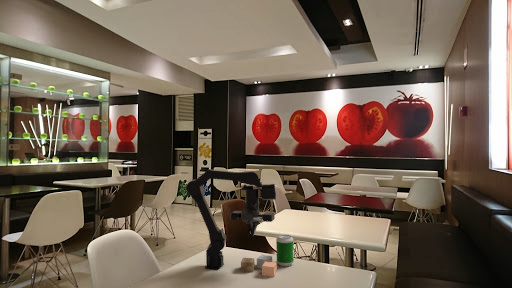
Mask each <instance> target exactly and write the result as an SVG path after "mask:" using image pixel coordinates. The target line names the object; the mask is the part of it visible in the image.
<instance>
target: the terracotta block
mask: <svg viewBox="0 0 512 288" xmlns="http://www.w3.org/2000/svg"><path fill="white" fill-rule="evenodd" d="M277 273H278V263H277V261H276V262H275V261H272V262H266V261H265V262H264V264H263V265H262V268H261V276H263V277H271V278H275V276H276V275H277Z"/></svg>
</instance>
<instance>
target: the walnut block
mask: <svg viewBox="0 0 512 288" xmlns="http://www.w3.org/2000/svg"><path fill="white" fill-rule="evenodd" d="M254 270H255V257H243V258H242V259H241V261H240V272H244V273H246V272H248V273H250V272H251V273H253V272H254Z"/></svg>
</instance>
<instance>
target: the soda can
mask: <svg viewBox="0 0 512 288" xmlns="http://www.w3.org/2000/svg"><path fill="white" fill-rule="evenodd" d="M294 251H295V250H294V237H292V235H290V234H280V235H278V236H277V237H276V263H277V265H279V266H281V267H290V266H292V265H293V264H294V262H295V259H294V258H295V255H294V253H295V252H294Z"/></svg>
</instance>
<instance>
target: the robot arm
mask: <svg viewBox="0 0 512 288" xmlns="http://www.w3.org/2000/svg"><path fill="white" fill-rule="evenodd" d="M210 180H221V181H222V180H223V181H234V182H239V183H242V184H243V186H242V187H241V188H240V190H241V191H244V192H245V203H244V208H243V209H242V210H234V211H232V212H231V213H230V215H229V218H230V220H234V221H237V220H238V219H239V218H240V219H241V221H242V222H243V223H245V224H246V226H247V228H248V230H249V233H250V236H251V237H254V236H255V233H256V231H257V228H258V225H259V224H260V223H261V221H263V222H266V223H271V222H274V220H275V219H276V218H275V217H276V216H275V213H274V212H267V211H266V212H264V213H260V208H259V207H260V201H259V200H260V199H259V197H260V198H261V199H262V200H263V201H265V200H266V201H268V200H269V201H272V200H273V201H275V200H276V199H277V198H276V197H277V196H276V195H277V193H276V184H275V183H270V184H268V183H267V184H266V183H265V184H263V183H262V181H261V180H260V179H259V175H258V173H257V172H256V171H254V170H246V171H245V170H244V171H228V170H219V169H218V170H216V169H212V168H209V169H206V170H205V172H204V173H203V174H201V175H199V176H198V177H197V178H195V179H193V180H190V181H189V182H188V183H187V184H186V187H185V189H186V191H187V193H188V194H189V196H190V197H191V198H192V199H193V200H194V202H195V204H196V205H197V208H198V210H199V213H200V215H201V217H202V219H203V222H204V224H205V226H206V229H207V231H208V237H209V241H210V243H209V244H208V246H207V248H206V250H205V252H206V253H205V254H206V256H205V257H206V258H205V259H206V264H205V266H204V269H210V270H219V269H221V268H222V267H223V266H224V265H225V263H224V255H223V249H224V248H225V246H226V242H227V234H225V231H224V228H223V227H222V228H221V229H220V228H219V226H218V225H217V223H216V220H215V218H214V216H213V213H212V211H211V209H210V206H209V204H208V202H207V199H206V196H205V191H204V190H205V189H204V185H205V184H206V183H208V181H210ZM254 186H255V187H254Z"/></svg>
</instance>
